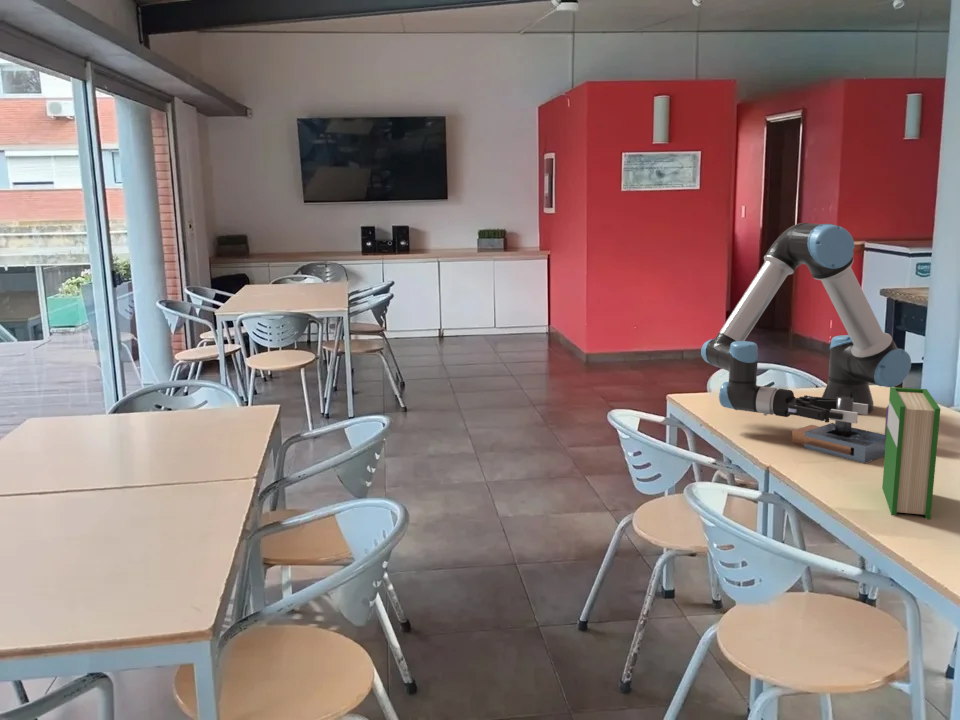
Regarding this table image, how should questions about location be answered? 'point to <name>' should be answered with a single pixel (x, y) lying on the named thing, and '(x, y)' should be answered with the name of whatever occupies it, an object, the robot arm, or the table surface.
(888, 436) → the hardback book
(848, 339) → the robot arm
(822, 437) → the orange grey flat block
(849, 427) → the pin
